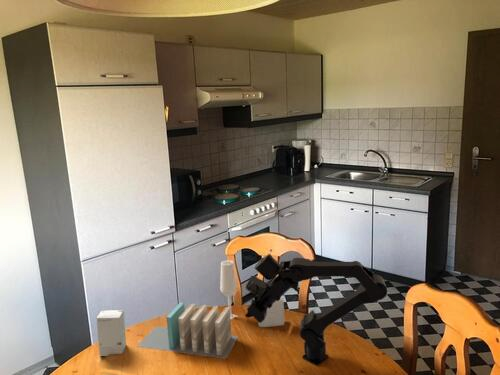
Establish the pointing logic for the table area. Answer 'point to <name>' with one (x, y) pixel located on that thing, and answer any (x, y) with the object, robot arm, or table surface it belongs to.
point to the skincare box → (111, 332)
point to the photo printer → (274, 315)
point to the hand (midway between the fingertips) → (246, 315)
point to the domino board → (161, 342)
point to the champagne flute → (228, 282)
